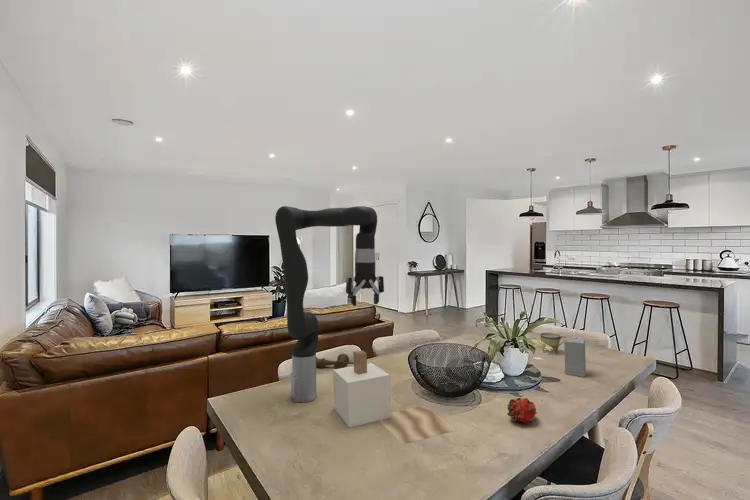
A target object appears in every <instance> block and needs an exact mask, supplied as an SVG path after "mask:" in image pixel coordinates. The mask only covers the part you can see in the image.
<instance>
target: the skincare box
mask: <svg viewBox="0 0 750 500" xmlns="http://www.w3.org/2000/svg"><path fill="white" fill-rule="evenodd" d="M563 341H564V342H563V344H564V345H563V347H564V373H565V375H567V376H568V375H569V376H574V377H575V376H576V377H583V378H585V377H586V374H587V373H586V372H587V363H586V339H581V338H570V337H569V338H568V337H566V339H565V338H564V340H563Z"/></svg>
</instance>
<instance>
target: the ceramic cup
mask: <svg viewBox="0 0 750 500" xmlns="http://www.w3.org/2000/svg"><path fill="white" fill-rule="evenodd" d="M563 338H564V340H563V341H561V339H563ZM566 338H567V337H565V336H563V335H561V334H559V333H555V332H542V333H540V341H541V342H542V341H543V342H544V343H545V344H547V345H549V346H551V347H552V348H553V350H552V351H549V350H543V349H542V350H543V354H545V353H548V354H547V355H549V354H555V355H558V352H559V347H560V346H561V345H562V344H564V341H565V339H566Z"/></svg>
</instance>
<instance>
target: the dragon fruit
mask: <svg viewBox="0 0 750 500" xmlns="http://www.w3.org/2000/svg"><path fill="white" fill-rule="evenodd" d="M507 411H508V412H507V416H509V417H511V420H512V421H515V422H516V423H520V422H522V423H524V424H526V425H529V424H530V423H529V422H532V420H533V419H534V418H535V417H536V414H538V413H537V409H536V405H535V402H533V401H530V399H529V398H528V397H525V398H521V397H516V399H515V398H513V399H510V401H509V402H508V404H507Z"/></svg>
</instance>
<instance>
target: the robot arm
mask: <svg viewBox="0 0 750 500" xmlns="http://www.w3.org/2000/svg"><path fill="white" fill-rule="evenodd" d="M274 217H275V221H274V222H275V227H276V230H277V235H278V241H279V247H280V253H281V260H282V270H283V279H284V284H285V299H286V321H287V322H286V323H287V324H286V325H287V331H288V333H289V335H290V337H291V338H292V339H294V340H297V341H296V343H295V344H294V345H293V347H292V348H291V349H292V350H291V362H292V363H291V365H292V366H291V370H292V371H291V373H290V394H291V395H290V397H291V400H293V402H294V403H307V402H312V401H314V400H316V398H317V367H316V357H317V348H318V345H319V331H320V330H319V321H318V318H317V316H316V315H315V313H313V312H312V311H311V312H310V311H307V312H305V311H304V299H305V293H306V291H307V289H308V288H307V287H308V283H309V272H308V271H309V270H308V264H307V260H306V258H305V255H304V253H303V251H302V250H301V248H300V244H299V242H298V240H297V238H298V237H297V231H298V230H302V229H308V228H313V227H329V228H330V227H331V228H332V227H335V228H336V227H348V226H359V230H358V231H359V232H358V233H356V235H355V253H354V277H350V276H347V277H346V284H345V293H346V294H347V295H350V303H351V305H352V306H354V307H356V306H357V295H358V293H359V291H360V290H365V289H369V290H370V289H371V290H372V292H373V304H374V305H378V304H379V302H380V294H382V293H384V291H385V286H384V285H385V282H384V276H383V275H382V276H381V275H378V276H376V249H375V247H376V245H375V244H376V237H375V235H376V233H377V226H378V214H377V211H376V210H375V209H374V208H373V207H370V206H364V205H358V206H357V205H356V206H350V207H329V208H324V209H319V210H306V209H301V208H297V207H295V206H294V207H292V206H287V205H285V206H284V205H283V206H280V207H279V208H278V209H277V210H276V213H275V216H274ZM376 281H377V285H376V284H375V283H376ZM353 283H355V285H354V287H352V284H353ZM377 286H378V287H377Z"/></svg>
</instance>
